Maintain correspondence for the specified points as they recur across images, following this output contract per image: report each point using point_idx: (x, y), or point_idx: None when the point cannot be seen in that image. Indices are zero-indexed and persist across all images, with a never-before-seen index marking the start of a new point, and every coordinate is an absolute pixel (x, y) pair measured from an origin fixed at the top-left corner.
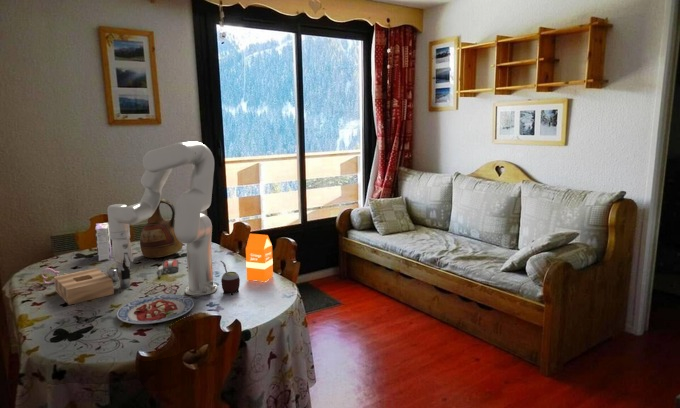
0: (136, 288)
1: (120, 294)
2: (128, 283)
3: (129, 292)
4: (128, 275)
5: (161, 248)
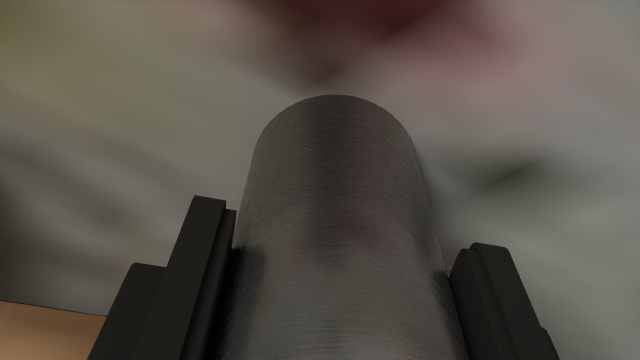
0: (577, 102)
1: (554, 338)
2: (423, 189)
3: (614, 249)
4: (551, 348)
5: None
